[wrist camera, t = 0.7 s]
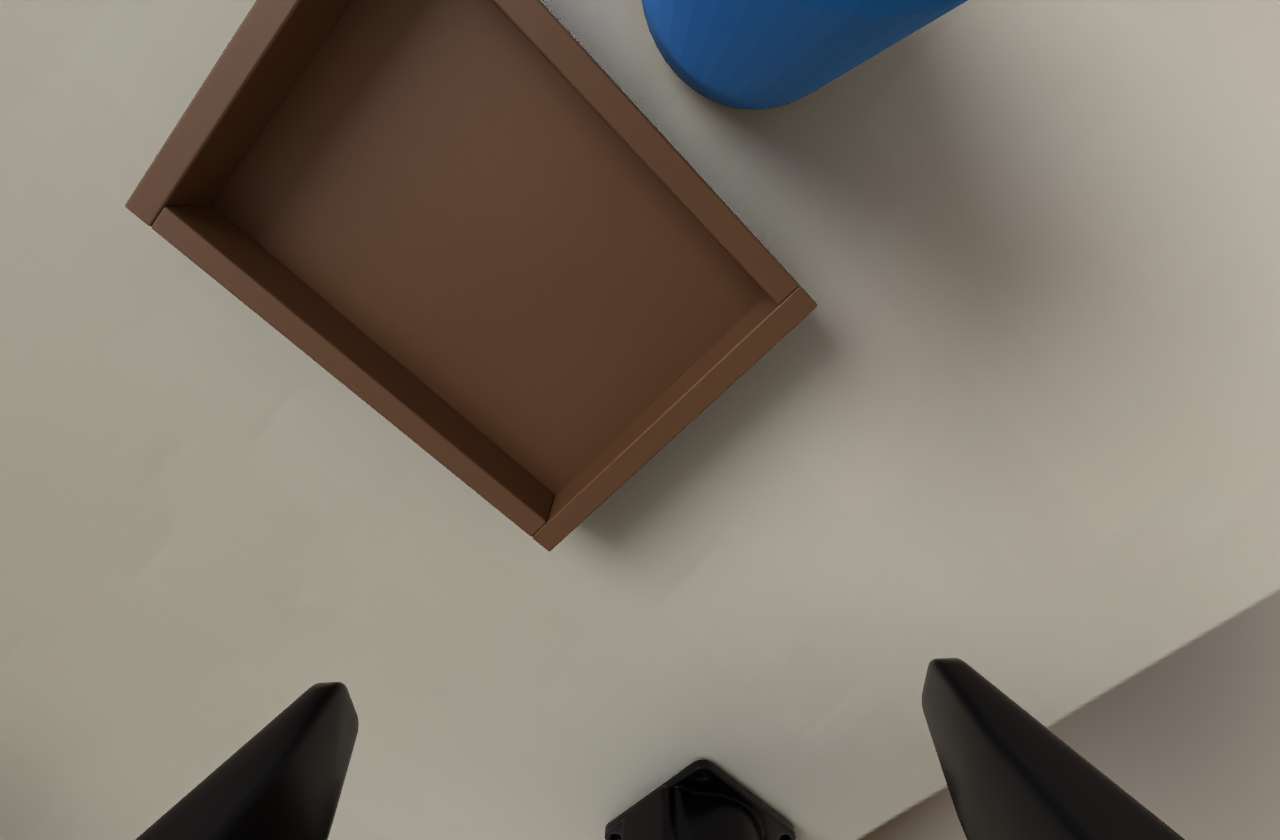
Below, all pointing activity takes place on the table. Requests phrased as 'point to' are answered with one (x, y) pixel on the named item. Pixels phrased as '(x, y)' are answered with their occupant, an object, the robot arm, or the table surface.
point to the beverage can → (777, 42)
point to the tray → (470, 239)
